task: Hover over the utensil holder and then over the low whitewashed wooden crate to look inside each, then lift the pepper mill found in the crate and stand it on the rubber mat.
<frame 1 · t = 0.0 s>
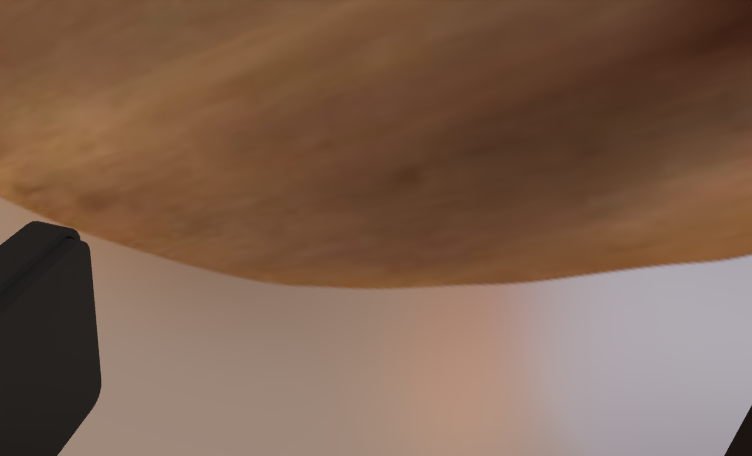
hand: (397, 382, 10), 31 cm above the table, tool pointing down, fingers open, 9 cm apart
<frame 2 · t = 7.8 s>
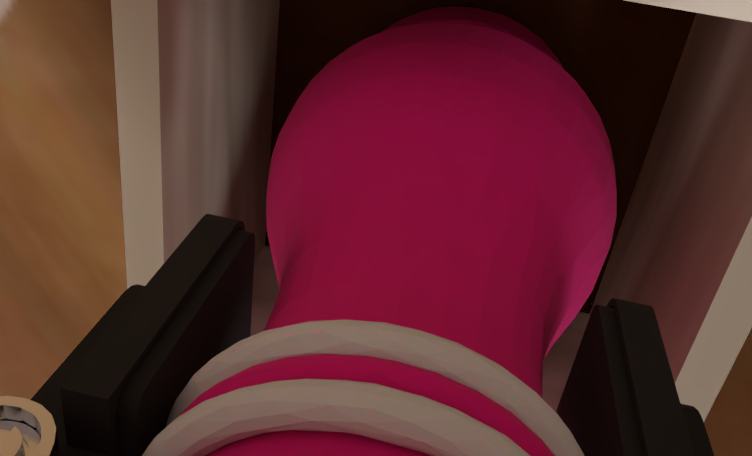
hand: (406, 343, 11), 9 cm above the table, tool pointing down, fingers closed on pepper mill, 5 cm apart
crate: (454, 125, 19), on the table
pepper mill: (455, 122, 19), resting in crate, touching gripper
when the fingers open (11 cm above the table, at t = 15.5 s): pepper mill drops 1 cm, resting on mat.
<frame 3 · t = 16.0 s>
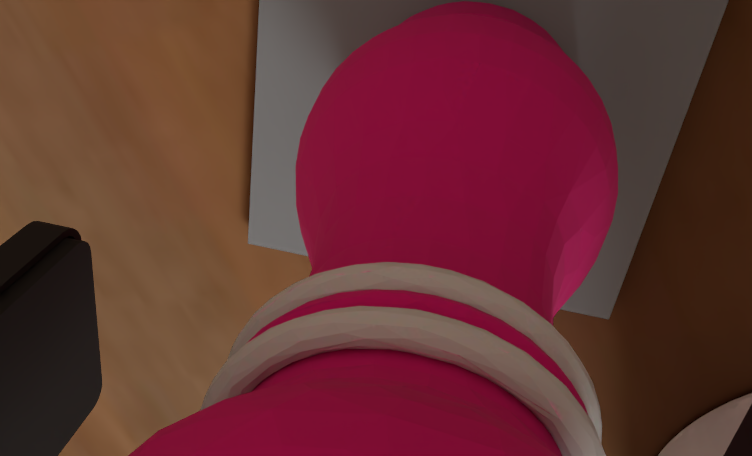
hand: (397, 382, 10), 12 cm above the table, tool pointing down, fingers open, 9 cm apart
mat: (460, 100, 20), on the table
pepper mill: (466, 110, 20), resting on mat
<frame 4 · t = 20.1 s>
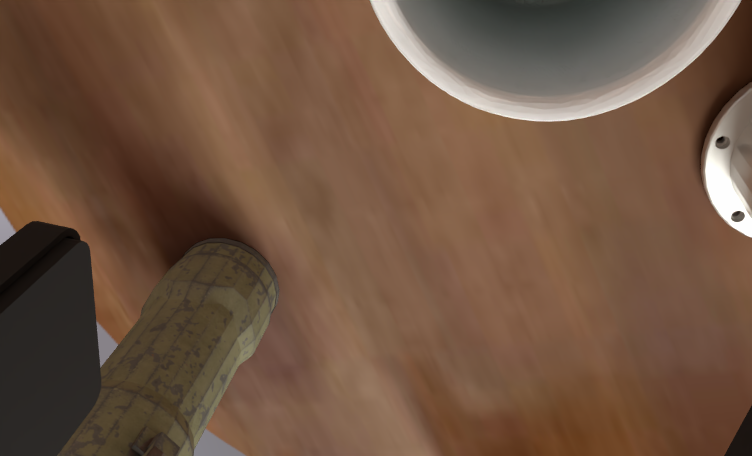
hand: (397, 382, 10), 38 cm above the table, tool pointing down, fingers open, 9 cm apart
thermos: (229, 282, 58), on the table
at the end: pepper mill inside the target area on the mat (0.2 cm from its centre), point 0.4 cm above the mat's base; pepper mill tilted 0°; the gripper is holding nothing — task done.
